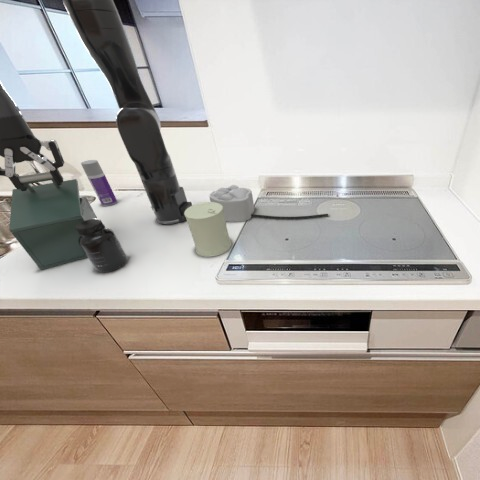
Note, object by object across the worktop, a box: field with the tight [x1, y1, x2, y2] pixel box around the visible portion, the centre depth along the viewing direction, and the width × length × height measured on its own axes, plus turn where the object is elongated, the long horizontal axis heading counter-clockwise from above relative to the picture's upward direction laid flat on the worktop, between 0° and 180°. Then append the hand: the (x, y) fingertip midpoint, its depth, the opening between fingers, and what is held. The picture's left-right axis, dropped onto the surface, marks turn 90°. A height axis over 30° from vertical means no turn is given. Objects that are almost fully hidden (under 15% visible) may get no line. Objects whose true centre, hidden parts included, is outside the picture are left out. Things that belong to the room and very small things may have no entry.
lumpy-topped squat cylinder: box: [208, 184, 256, 223], centre depth 86 cm, size 10×13×9 cm
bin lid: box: [8, 171, 82, 234], centre depth 63 cm, size 16×13×5 cm
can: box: [184, 201, 232, 258], centre depth 69 cm, size 9×9×12 cm
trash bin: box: [11, 196, 99, 271], centre depth 69 cm, size 15×13×11 cm
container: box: [80, 159, 118, 207], centre depth 90 cm, size 5×5×15 cm
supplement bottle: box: [75, 218, 128, 273], centre depth 63 cm, size 7×7×12 cm
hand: (43, 186), depth 66 cm, fingers closed on bin lid, 6 cm apart
